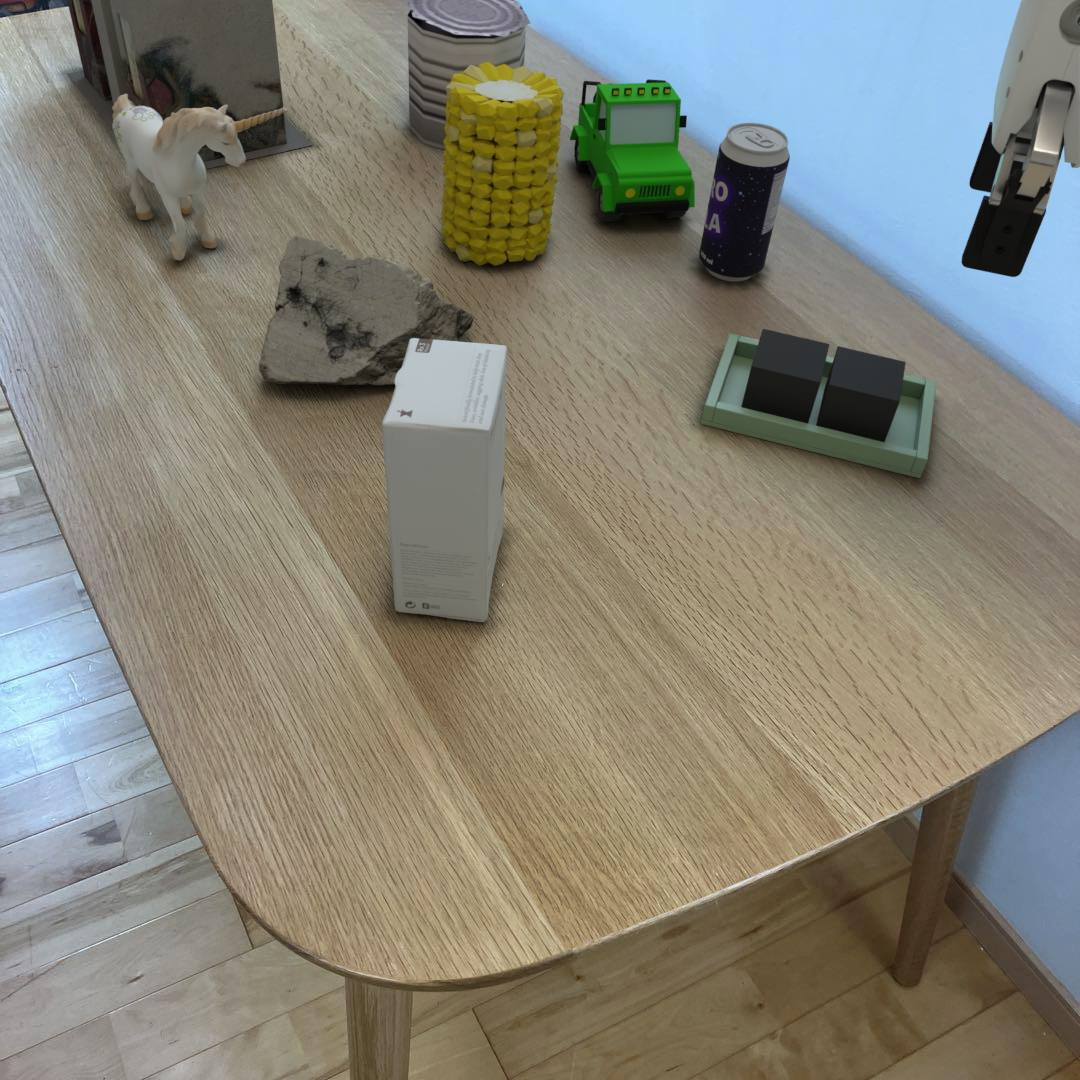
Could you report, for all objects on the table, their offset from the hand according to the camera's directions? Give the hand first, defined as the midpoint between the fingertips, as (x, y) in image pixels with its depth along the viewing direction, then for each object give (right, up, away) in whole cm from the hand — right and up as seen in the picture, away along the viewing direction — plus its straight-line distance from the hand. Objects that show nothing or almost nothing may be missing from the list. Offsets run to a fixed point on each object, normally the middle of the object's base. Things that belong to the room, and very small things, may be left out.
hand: (992, 228), depth 65 cm
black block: (-8, -7, +19) cm, 22 cm away
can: (-34, +23, +47) cm, 63 cm away
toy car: (-18, +15, +41) cm, 47 cm away
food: (-30, +8, +33) cm, 45 cm away
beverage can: (-10, +5, +32) cm, 34 cm away
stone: (-40, -4, +21) cm, 45 cm away
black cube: (-3, -9, +18) cm, 20 cm away
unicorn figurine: (-54, +9, +31) cm, 63 cm away
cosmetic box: (-32, -20, +5) cm, 38 cm away
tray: (-6, -8, +19) cm, 21 cm away
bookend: (-62, +25, +46) cm, 81 cm away
